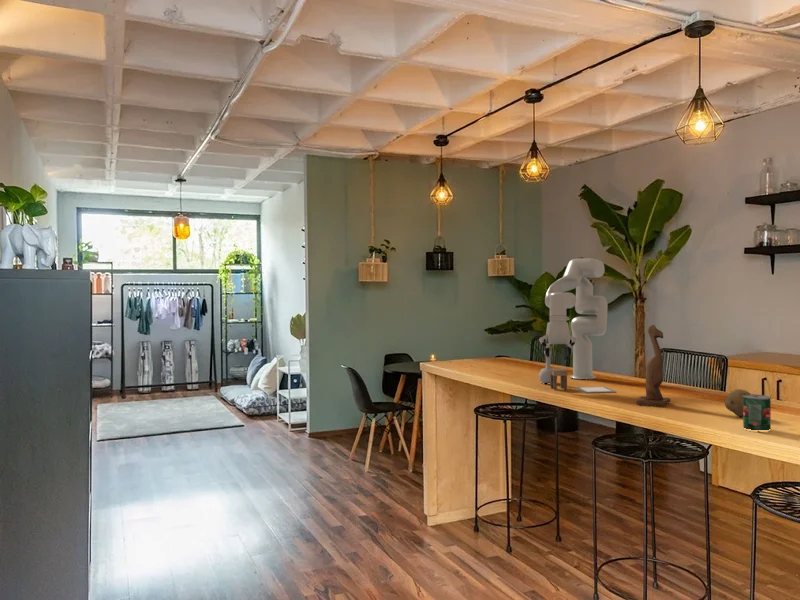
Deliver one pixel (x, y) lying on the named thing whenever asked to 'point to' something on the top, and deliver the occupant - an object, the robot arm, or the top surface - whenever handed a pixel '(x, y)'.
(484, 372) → the top surface
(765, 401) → the canned tomato
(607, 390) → the mat
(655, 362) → the bird sculpture
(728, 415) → the top surface
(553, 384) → the stool
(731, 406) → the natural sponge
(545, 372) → the potion bottle
